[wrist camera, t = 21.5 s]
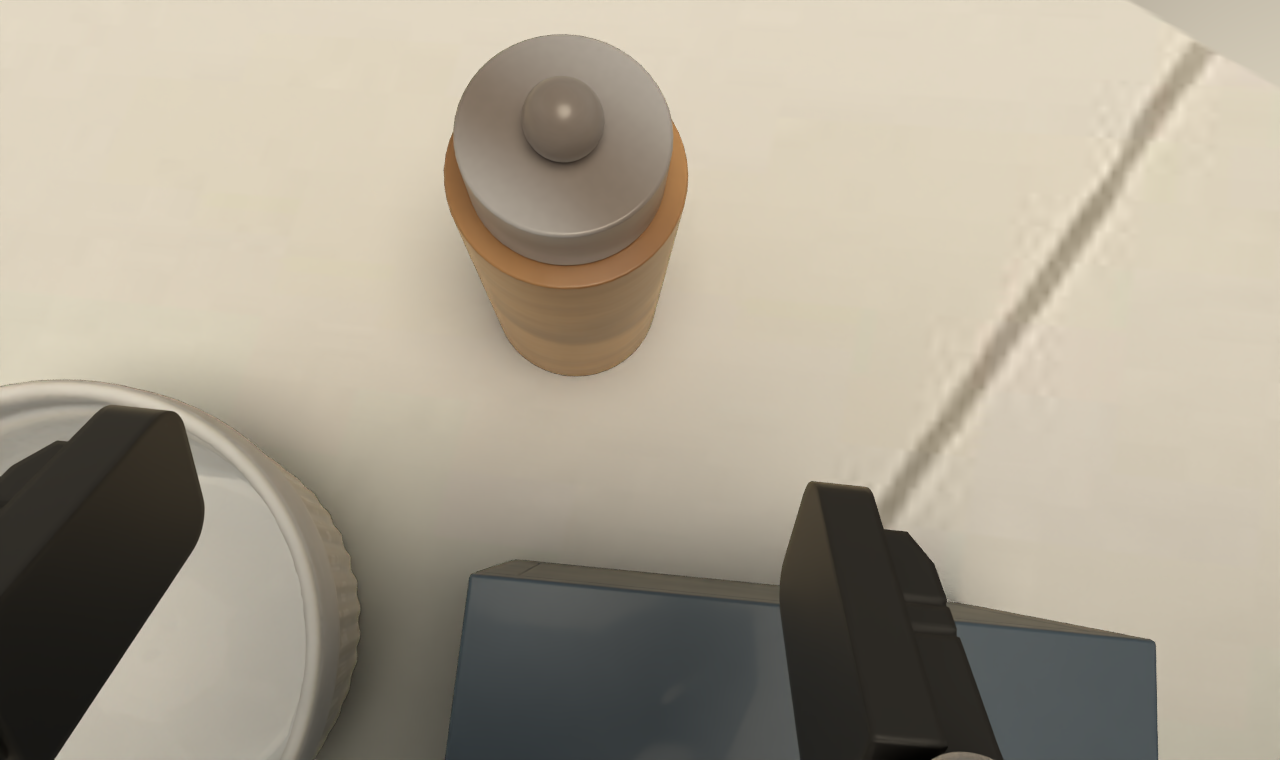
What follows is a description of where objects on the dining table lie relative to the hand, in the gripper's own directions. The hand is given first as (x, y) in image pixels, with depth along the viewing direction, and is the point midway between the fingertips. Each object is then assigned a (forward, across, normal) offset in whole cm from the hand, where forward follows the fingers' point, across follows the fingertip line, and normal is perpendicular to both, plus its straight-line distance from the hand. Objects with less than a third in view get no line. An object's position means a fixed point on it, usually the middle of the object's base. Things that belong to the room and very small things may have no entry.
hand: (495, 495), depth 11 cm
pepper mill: (+17, 0, +6) cm, 18 cm away
